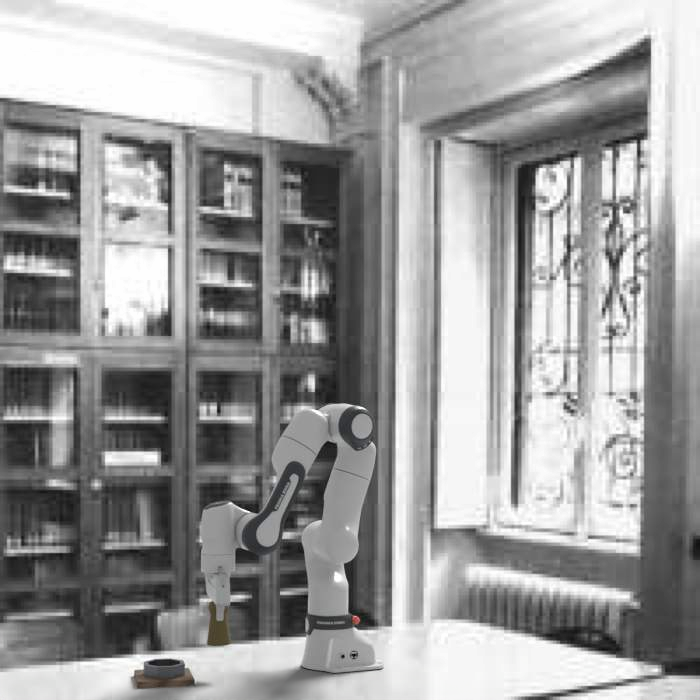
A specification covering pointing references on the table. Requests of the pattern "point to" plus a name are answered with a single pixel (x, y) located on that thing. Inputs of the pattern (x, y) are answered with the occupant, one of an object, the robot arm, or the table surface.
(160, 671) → the metal collar
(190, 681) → the walnut base
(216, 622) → the cork
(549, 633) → the table surface
